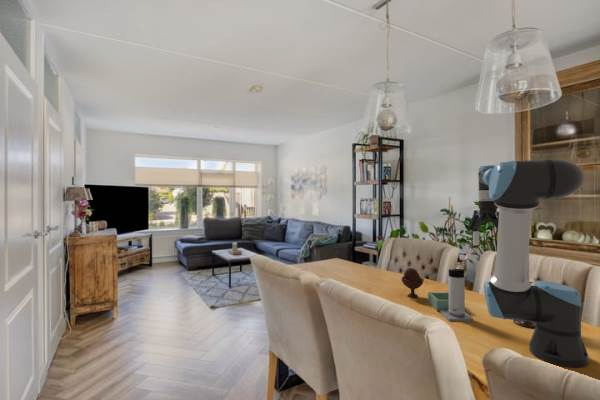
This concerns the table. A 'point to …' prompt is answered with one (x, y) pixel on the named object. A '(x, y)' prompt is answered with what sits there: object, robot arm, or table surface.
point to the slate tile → (453, 318)
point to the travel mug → (456, 292)
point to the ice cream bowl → (412, 281)
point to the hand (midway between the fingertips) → (488, 247)
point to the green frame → (439, 300)
